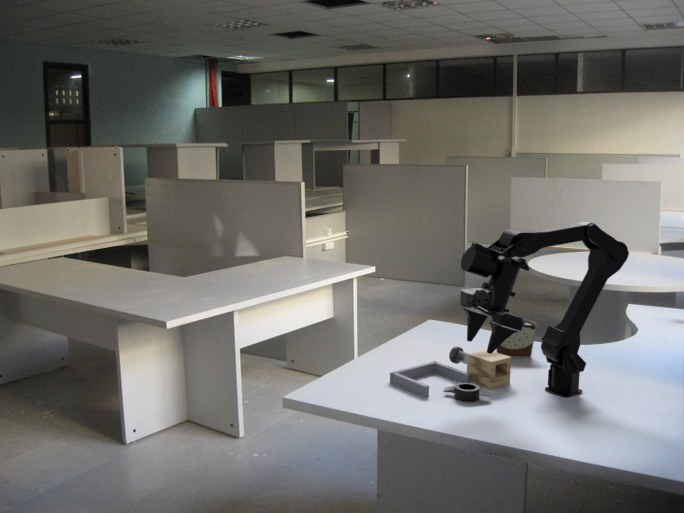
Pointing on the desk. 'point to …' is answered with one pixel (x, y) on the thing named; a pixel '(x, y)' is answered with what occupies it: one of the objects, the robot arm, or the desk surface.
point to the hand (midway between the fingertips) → (478, 347)
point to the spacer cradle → (406, 375)
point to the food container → (520, 341)
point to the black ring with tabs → (465, 392)
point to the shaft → (458, 355)
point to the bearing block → (489, 369)
